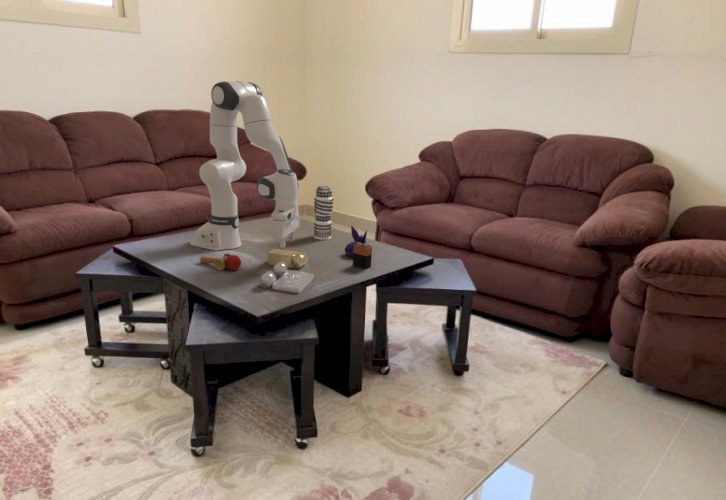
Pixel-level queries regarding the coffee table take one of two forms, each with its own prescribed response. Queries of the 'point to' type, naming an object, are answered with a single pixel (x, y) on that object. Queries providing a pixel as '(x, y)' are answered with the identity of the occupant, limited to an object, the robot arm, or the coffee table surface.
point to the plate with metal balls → (285, 279)
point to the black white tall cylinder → (323, 212)
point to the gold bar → (287, 258)
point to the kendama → (223, 261)
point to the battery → (362, 255)
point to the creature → (357, 238)
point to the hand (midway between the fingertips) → (287, 244)
